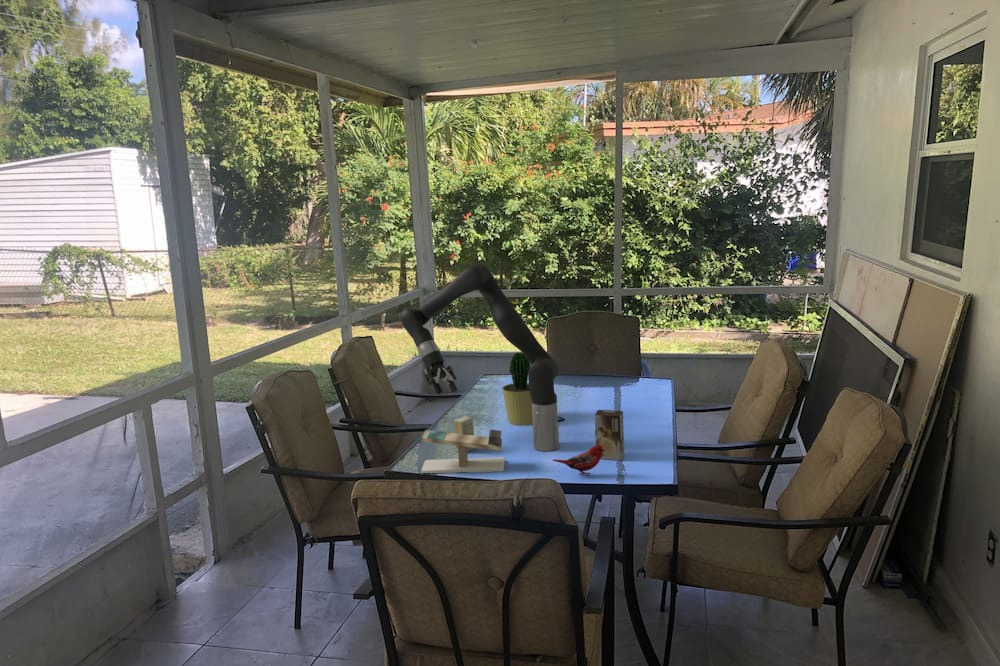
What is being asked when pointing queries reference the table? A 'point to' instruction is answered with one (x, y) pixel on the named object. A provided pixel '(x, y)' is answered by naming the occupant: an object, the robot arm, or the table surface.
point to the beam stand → (463, 464)
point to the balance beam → (464, 439)
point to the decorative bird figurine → (584, 459)
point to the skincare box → (464, 427)
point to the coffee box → (610, 433)
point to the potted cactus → (518, 392)
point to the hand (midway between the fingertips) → (447, 392)
